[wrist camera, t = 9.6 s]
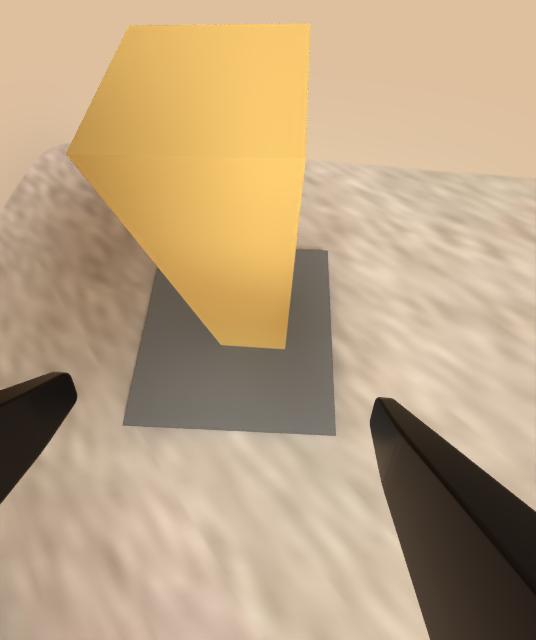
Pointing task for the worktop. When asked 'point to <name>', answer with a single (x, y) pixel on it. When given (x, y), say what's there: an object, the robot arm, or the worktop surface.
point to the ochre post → (208, 164)
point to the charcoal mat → (237, 366)
